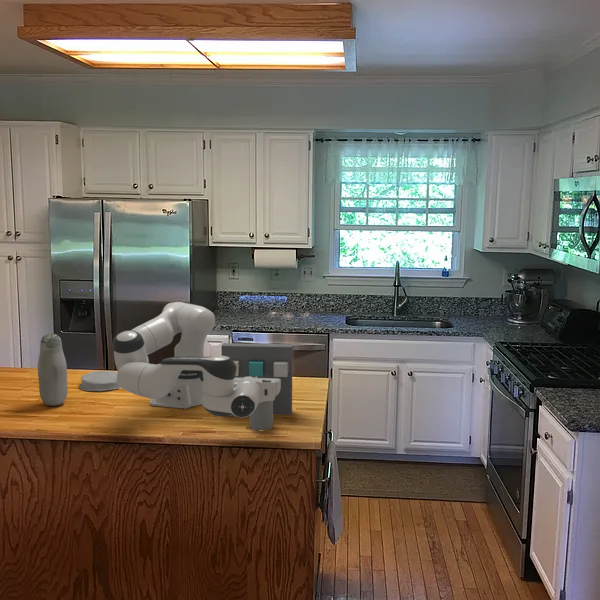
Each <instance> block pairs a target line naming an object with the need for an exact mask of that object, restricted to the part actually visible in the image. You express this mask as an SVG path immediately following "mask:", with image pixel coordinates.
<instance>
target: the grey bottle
mask: <svg viewBox="0 0 600 600" xmlns="http://www.w3.org/2000/svg"><path fill="white" fill-rule="evenodd" d="M39 345H40V346H39V355H38V361H37V376H38V389H39V391H38V392H39V396H40V398H41V401H42V403H44V404H45V405H47V406H51V407H52V406H53V407H57V406H60V405H62V404H63V403H64V402H65V401H66V399H67V396H68V388H69V387H68V367H67V360H66V357H65V354H64V350H63V344H62V339H61V337H60V336H59V335H58V334H56V333H48V334H47V333H46V334H44V335H43V336H42V337H41V339H40V344H39Z"/></svg>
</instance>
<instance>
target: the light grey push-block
mask: <svg viewBox="0 0 600 600" xmlns="http://www.w3.org/2000/svg"><path fill="white" fill-rule="evenodd" d="M288 372H289V361H274V377H287V376H288Z"/></svg>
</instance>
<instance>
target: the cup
mask: <svg viewBox="0 0 600 600" xmlns="http://www.w3.org/2000/svg"><path fill="white" fill-rule="evenodd" d="M272 427H273V428H274V414H273V401H267V402H261V403H259V404H258V406H257V408H256V410H255V411H254V412H253V413H252V414H251V415H250V416H249V429H251V430H253V429H254V431H257V430H264V431H268V429H269V430H271V429H273V428H272Z"/></svg>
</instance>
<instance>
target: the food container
mask: <svg viewBox="0 0 600 600" xmlns="http://www.w3.org/2000/svg"><path fill="white" fill-rule="evenodd" d="M117 373H118V370H117V371H116V370H110V369H109V370H96V371H90V372H87V373H85V374H82V375H81V378H80V380H81V383H80V384H79V389H80V390H81V391H85V392H88V391H89V392H91V391H94V392H103V391H111V390H119V389H122V388H121V387H120V386H119V385H118V382H117Z"/></svg>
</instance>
